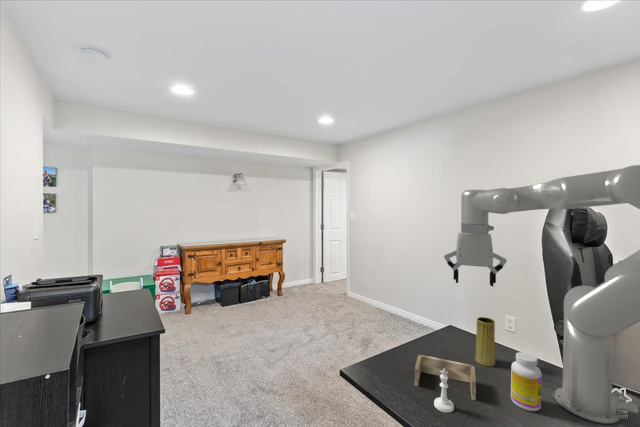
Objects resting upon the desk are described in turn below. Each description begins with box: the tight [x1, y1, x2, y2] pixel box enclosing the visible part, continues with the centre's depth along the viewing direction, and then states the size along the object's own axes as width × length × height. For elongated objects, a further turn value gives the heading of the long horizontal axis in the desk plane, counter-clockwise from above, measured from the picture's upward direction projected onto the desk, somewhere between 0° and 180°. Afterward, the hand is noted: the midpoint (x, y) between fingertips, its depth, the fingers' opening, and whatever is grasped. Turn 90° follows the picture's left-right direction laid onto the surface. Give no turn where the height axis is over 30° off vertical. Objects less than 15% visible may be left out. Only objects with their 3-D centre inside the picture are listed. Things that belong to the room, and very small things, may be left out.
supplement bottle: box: [510, 351, 543, 412], centre depth 78 cm, size 7×7×13 cm
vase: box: [474, 316, 497, 367], centre depth 99 cm, size 6×6×14 cm
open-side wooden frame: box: [414, 353, 477, 401], centre depth 87 cm, size 16×9×5 cm, turn 65°
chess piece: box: [433, 369, 455, 413], centre depth 78 cm, size 5×5×10 cm
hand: (473, 283), depth 92 cm, fingers open, 9 cm apart
